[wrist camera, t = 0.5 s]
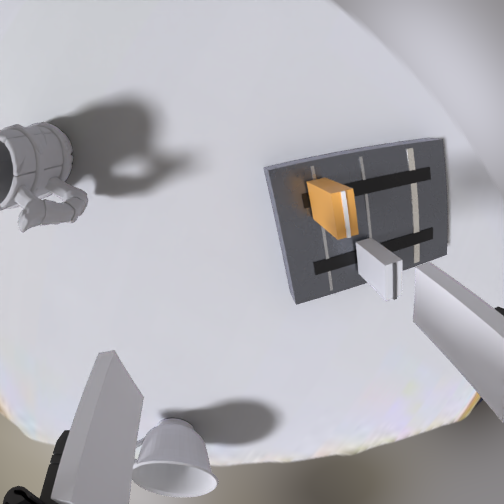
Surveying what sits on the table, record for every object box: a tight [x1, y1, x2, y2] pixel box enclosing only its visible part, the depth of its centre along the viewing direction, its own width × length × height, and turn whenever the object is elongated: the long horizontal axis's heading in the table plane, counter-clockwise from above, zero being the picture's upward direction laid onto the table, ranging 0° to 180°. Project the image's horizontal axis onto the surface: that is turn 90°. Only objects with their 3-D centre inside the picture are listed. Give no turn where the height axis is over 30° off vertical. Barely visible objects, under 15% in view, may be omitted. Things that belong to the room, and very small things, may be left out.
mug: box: [0, 122, 88, 232], centre depth 20 cm, size 8×12×12 cm, turn 49°
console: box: [264, 138, 447, 304], centre depth 31 cm, size 14×20×3 cm
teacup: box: [132, 418, 218, 497], centre depth 35 cm, size 12×15×10 cm
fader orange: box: [307, 178, 359, 240], centre depth 25 cm, size 4×2×6 cm, turn 13°
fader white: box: [356, 238, 403, 301], centre depth 27 cm, size 4×2×6 cm, turn 13°
